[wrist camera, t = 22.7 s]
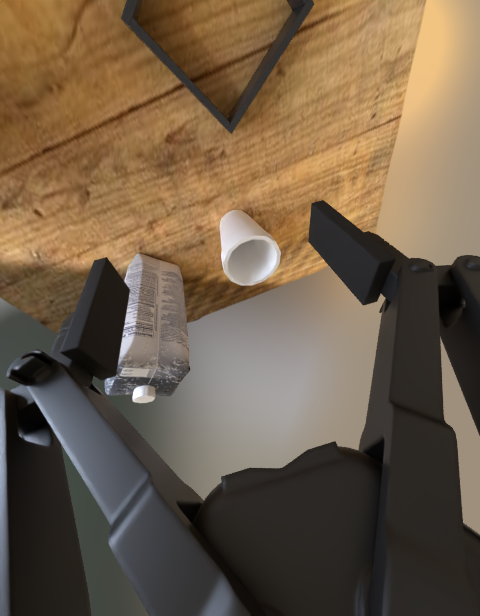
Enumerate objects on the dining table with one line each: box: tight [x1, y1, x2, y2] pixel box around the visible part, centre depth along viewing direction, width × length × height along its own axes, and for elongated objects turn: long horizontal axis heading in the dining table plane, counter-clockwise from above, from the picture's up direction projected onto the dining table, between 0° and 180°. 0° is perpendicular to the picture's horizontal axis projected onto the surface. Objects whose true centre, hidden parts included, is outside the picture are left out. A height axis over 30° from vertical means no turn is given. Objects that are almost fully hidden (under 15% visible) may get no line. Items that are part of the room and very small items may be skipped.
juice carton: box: [105, 253, 190, 403], centre depth 39 cm, size 9×10×27 cm
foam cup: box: [220, 210, 281, 285], centre depth 40 cm, size 10×9×13 cm
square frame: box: [121, 0, 314, 134], centre depth 25 cm, size 15×15×4 cm
